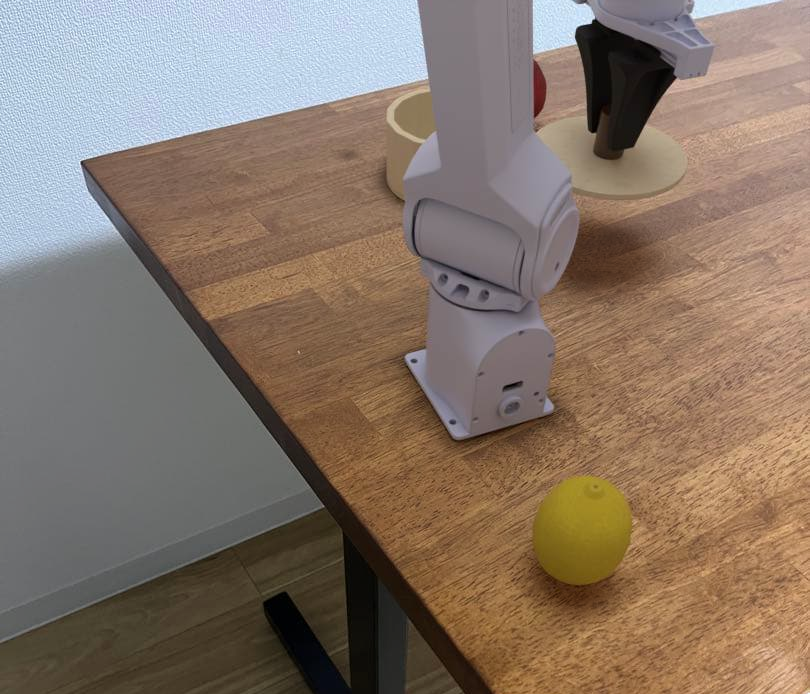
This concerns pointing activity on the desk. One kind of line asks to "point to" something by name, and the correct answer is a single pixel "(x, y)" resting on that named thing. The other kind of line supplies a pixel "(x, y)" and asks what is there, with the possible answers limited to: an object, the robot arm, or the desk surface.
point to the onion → (538, 88)
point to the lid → (615, 159)
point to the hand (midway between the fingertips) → (610, 138)
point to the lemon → (582, 530)
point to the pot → (407, 134)
